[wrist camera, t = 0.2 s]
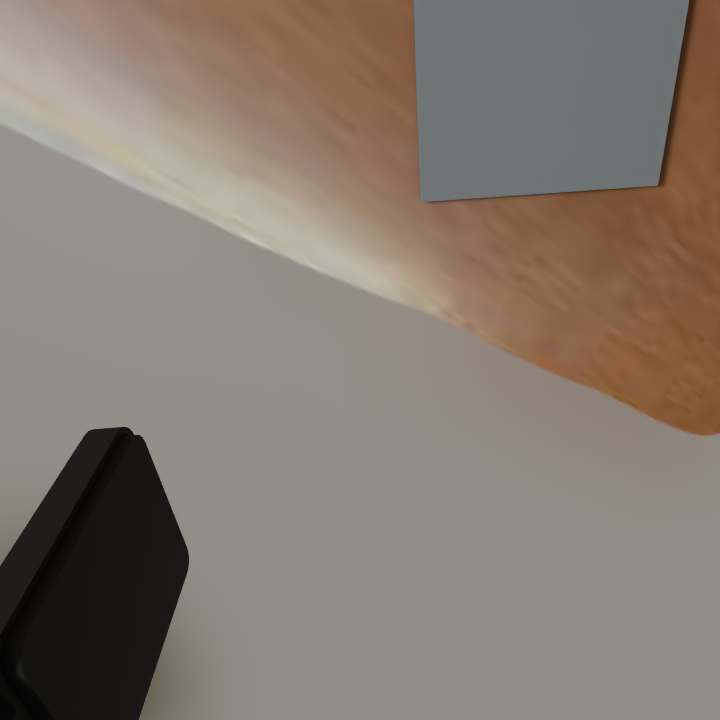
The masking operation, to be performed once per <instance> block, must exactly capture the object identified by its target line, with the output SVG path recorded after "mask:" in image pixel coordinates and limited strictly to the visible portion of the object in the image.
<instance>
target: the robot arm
mask: <svg viewBox="0 0 720 720" xmlns="http://www.w3.org/2000/svg"><path fill="white" fill-rule="evenodd" d="M188 565H189V554H188V549H187V546H186V544H185V541H184V539H183V536H182V534H181V531H180V529H179V526H178V524H177V521H176V519H175V516H174V514H173V511H172V509H171V506H170V504H169V501H168V498H167V496H166V493H165V491H164V488H163V486H162V483H161V481H160V478H159V476H158V473H157V471H156V468H155V466H154V463H153V461H152V458H151V455H150V453H149V450H148V448H147V446H146V443H145V441H144V440H143V438H142V437H141V436H140V435H134V434H133V432H132V431H131V430H130V429H129V428H127V427H117V428H105V429H93V430H90V431H88V432H87V433H86V434H85V436H84V437H83V439H82V441H81V442H80V443H79V445H78V446H77V448H76V450H75V451H74V453H73V454H72V456H71V457H70V459H69V460H68V462H67V463H66V465H65V467H64V468H63V470H62V471H61V473H60V474H59V476H58V478H57V479H56V481H55V482H54V484H53V485H52V487H51V488H50V490H49V491H48V493H47V495H46V496H45V498H44V499H43V501H42V502H41V504H40V506H39V507H38V508H37V510H36V512H35V513H34V515H33V516H32V518H31V519H30V521H29V523H28V524H27V526H26V527H25V529H24V530H23V532H22V533H21V535H20V536H19V538H18V539H17V541H16V543H15V544H14V546H13V547H12V549H11V550H10V552H9V553H8V555H7V557H6V558H5V560H4V561H3V563H2V564H1V566H0V720H139V716H140V714H141V711H142V708H143V705H144V701H145V699H146V696H147V692H148V689H149V686H150V684H151V681H152V678H153V674H154V671H155V668H156V665H157V662H158V659H159V656H160V653H161V650H162V647H163V644H164V641H165V638H166V635H167V632H168V629H169V626H170V623H171V620H172V617H173V614H174V611H175V608H176V605H177V602H178V599H179V596H180V593H181V590H182V587H183V584H184V581H185V578H186V575H187V571H188Z"/></svg>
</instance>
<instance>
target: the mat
mask: <svg viewBox="0 0 720 720" xmlns="http://www.w3.org/2000/svg"><path fill="white" fill-rule="evenodd" d="M413 4H414V33H415V62H416V92H417V121H418V150H419V179H420V201H421V202H430V201H444V200H459V199H473V198H487V197H501V196H516V195H530V194H544V193H559V192H573V191H587V190H601V189H616V188H630V187H644V186H658V183H659V177H660V171H661V165H662V159H663V153H664V147H665V141H666V135H667V130H668V124H669V118H670V112H671V106H672V100H673V94H674V88H675V82H676V76H677V70H678V64H679V58H680V52H681V46H682V40H683V34H684V28H685V23H686V17H687V11H688V5H689V0H413Z"/></svg>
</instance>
